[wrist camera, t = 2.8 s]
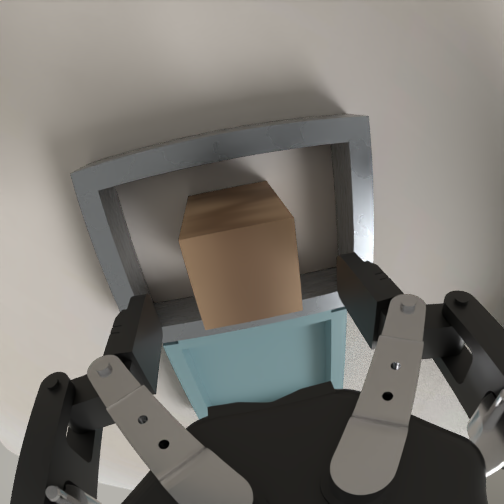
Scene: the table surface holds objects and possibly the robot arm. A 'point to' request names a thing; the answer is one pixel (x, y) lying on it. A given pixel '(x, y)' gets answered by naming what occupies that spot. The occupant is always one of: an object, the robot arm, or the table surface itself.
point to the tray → (261, 360)
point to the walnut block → (241, 255)
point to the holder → (218, 149)
